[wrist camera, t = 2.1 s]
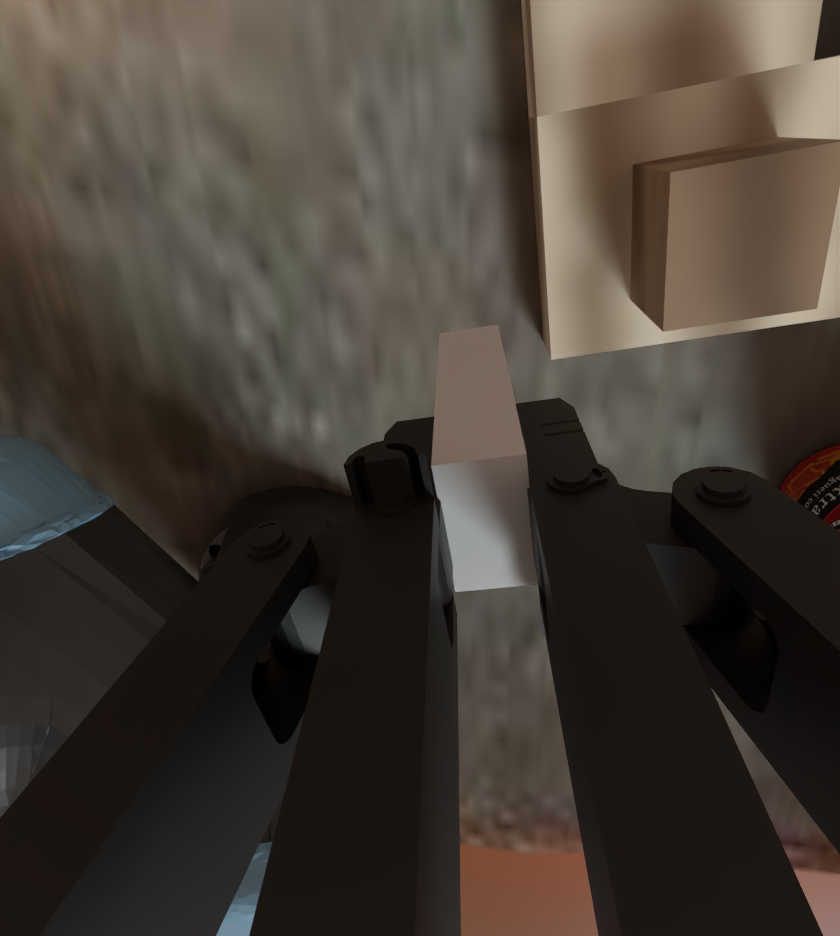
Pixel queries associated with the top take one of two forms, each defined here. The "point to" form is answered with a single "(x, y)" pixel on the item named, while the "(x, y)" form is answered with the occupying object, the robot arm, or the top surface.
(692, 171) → the walnut block
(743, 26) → the trap deck
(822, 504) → the canned food
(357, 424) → the top surface
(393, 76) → the top surface
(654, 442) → the top surface
